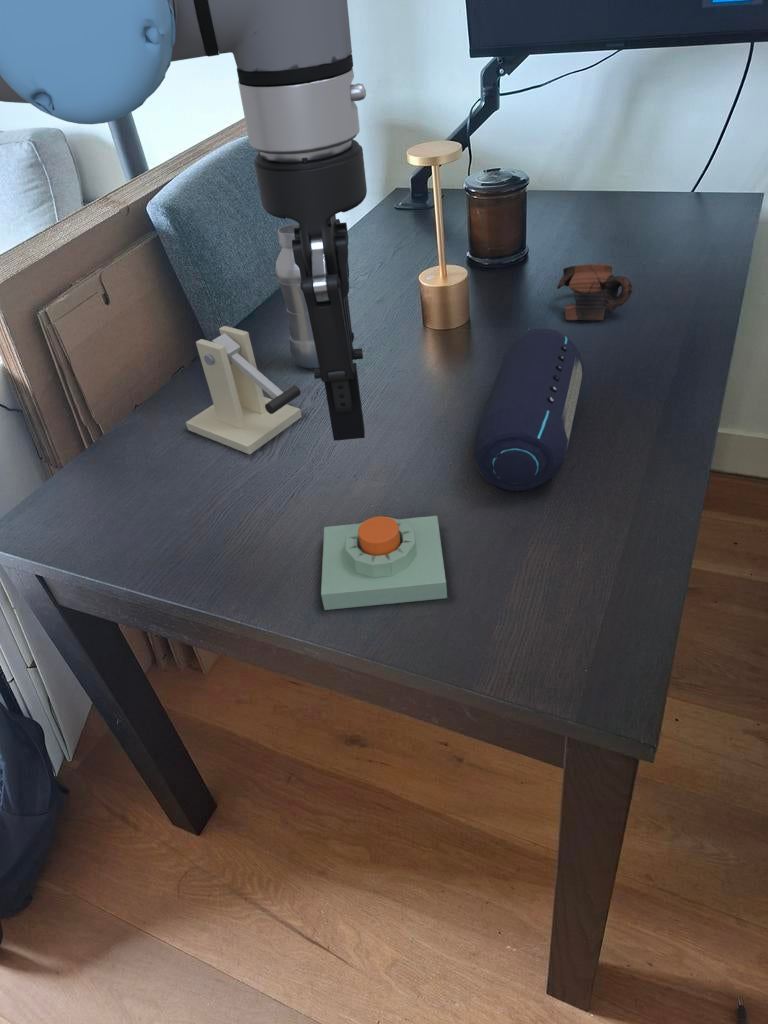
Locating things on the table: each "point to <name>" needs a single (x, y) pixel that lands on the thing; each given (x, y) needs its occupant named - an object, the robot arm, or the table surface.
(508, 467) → the portable speaker
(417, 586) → the button block
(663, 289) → the table surface
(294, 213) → the robot arm
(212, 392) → the bracket
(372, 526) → the button
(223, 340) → the lever
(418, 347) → the table surface
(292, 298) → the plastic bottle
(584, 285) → the pottery mug
